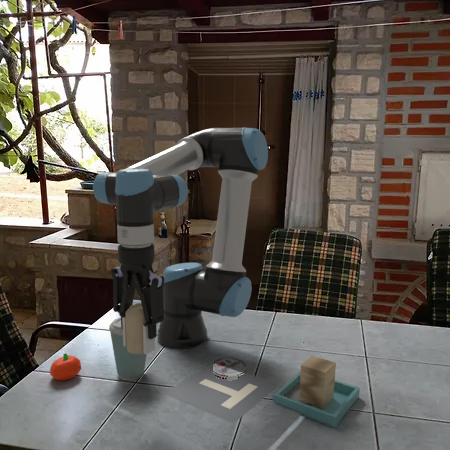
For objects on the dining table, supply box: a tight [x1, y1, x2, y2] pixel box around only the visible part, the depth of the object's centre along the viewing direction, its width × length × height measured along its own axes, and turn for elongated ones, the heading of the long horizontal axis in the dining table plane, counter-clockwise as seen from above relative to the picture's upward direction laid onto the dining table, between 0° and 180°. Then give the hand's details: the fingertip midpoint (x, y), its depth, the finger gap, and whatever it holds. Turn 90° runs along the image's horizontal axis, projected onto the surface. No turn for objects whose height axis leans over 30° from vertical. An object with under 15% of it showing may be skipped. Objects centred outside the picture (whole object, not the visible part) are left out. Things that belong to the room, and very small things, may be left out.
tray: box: [272, 370, 361, 429], centre depth 109 cm, size 15×15×2 cm
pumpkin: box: [49, 352, 82, 381], centre depth 118 cm, size 7×8×6 cm
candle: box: [126, 302, 152, 354], centre depth 101 cm, size 6×6×10 cm
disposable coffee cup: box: [108, 316, 147, 381], centre depth 119 cm, size 11×11×15 cm
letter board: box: [163, 361, 280, 424], centre depth 113 cm, size 20×20×1 cm
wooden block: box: [298, 355, 337, 410], centre depth 109 cm, size 6×6×9 cm
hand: (139, 347), depth 102 cm, fingers closed on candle, 5 cm apart
